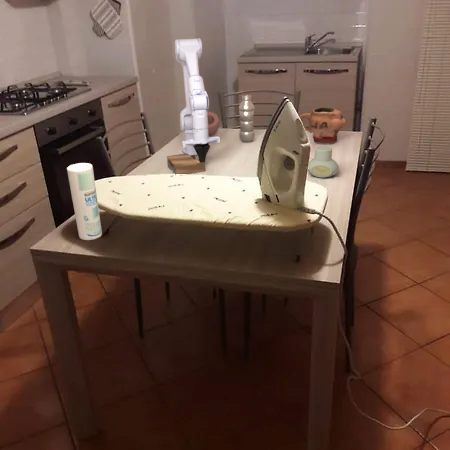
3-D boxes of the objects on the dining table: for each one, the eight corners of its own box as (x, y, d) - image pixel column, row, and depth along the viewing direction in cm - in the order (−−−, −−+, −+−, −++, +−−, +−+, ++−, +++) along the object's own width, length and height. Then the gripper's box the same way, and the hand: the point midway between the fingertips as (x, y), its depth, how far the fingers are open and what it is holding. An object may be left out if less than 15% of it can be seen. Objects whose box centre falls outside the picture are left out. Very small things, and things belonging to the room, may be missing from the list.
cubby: (167, 166, 191) (166, 156, 190) (195, 162, 195) (194, 152, 193) (176, 176, 182) (175, 164, 180) (205, 171, 186) (204, 160, 184)
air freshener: (338, 172, 181) (340, 145, 176) (336, 180, 174) (338, 152, 169) (308, 170, 184) (309, 143, 179) (305, 178, 176) (306, 150, 172)
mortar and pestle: (190, 139, 224) (189, 114, 219) (196, 132, 235) (195, 108, 230) (217, 140, 222) (216, 114, 217) (221, 133, 233) (220, 108, 228)
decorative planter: (296, 144, 213) (297, 112, 207) (298, 137, 223) (299, 105, 217) (344, 146, 209) (347, 113, 203) (344, 138, 220) (347, 106, 214)
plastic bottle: (255, 143, 216) (255, 96, 208) (239, 143, 217) (238, 96, 208) (254, 139, 222) (254, 93, 214) (239, 139, 222) (238, 93, 214)
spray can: (91, 242, 136) (80, 172, 128) (73, 237, 139) (61, 168, 131) (107, 232, 141) (97, 164, 133) (89, 228, 144) (79, 161, 136)
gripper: (184, 132, 178) (187, 169, 184) (222, 127, 183) (223, 163, 189) (178, 128, 184) (181, 163, 190) (215, 123, 189) (217, 158, 195)
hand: (202, 163), depth 190 cm, fingers closed
